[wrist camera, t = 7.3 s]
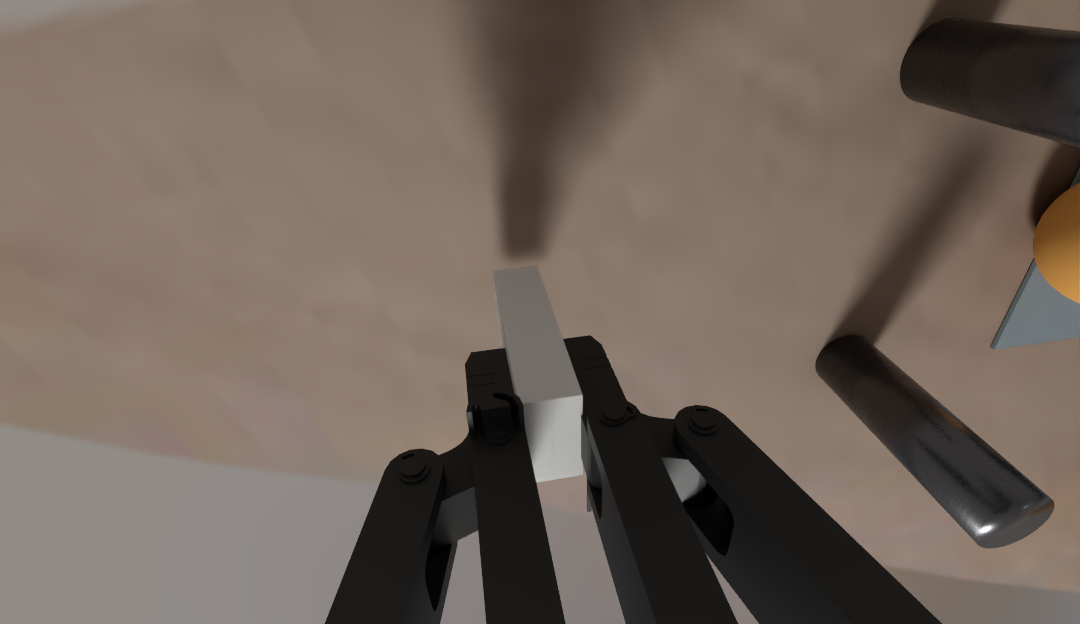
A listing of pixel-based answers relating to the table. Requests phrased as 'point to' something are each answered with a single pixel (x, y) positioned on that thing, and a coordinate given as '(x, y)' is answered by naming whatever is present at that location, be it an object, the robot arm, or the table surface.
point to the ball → (1060, 244)
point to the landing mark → (1039, 312)
